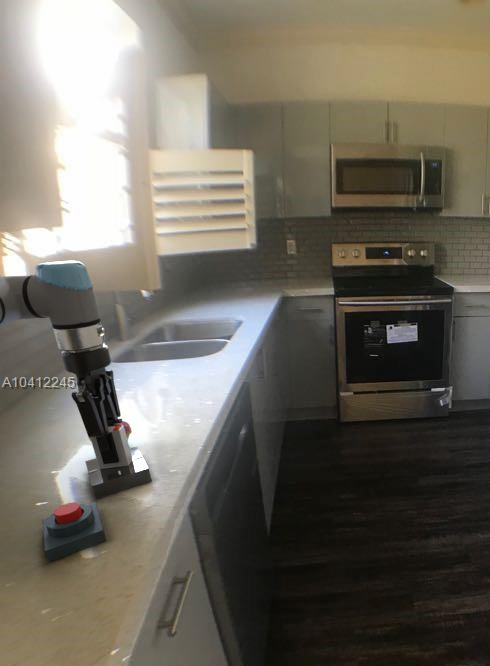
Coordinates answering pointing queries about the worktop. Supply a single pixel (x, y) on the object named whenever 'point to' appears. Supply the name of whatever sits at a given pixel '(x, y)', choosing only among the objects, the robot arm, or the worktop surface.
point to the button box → (73, 533)
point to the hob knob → (120, 445)
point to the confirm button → (68, 513)
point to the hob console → (118, 475)
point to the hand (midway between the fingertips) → (114, 458)
